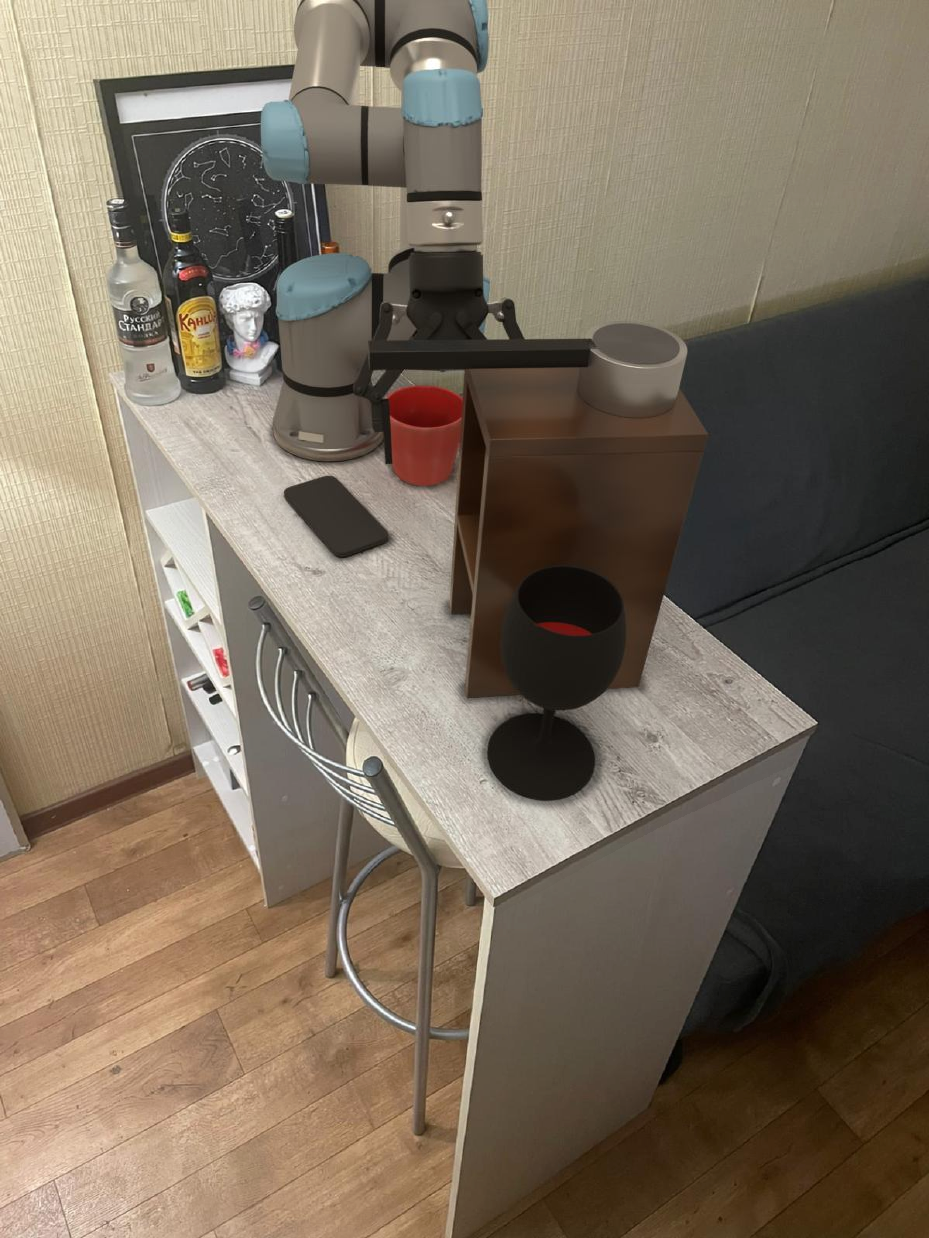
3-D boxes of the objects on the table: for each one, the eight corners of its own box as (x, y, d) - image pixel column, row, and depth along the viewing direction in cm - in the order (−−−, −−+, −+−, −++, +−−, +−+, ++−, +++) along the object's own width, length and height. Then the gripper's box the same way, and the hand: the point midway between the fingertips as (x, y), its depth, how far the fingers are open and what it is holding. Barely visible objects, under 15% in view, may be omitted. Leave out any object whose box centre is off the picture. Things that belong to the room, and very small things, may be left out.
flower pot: (479, 478, 121) (485, 413, 114) (410, 502, 116) (411, 436, 109) (435, 440, 127) (438, 377, 120) (367, 462, 122) (366, 397, 115)
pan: (372, 424, 72) (372, 371, 69) (366, 372, 78) (365, 321, 75) (689, 417, 76) (702, 366, 73) (659, 368, 82) (669, 319, 79)
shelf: (466, 698, 92) (490, 439, 71) (449, 605, 102) (465, 356, 81) (638, 687, 94) (708, 434, 74) (604, 597, 104) (658, 354, 84)
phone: (337, 555, 106) (280, 489, 114) (337, 560, 106) (280, 494, 115) (392, 535, 109) (332, 473, 118) (392, 541, 109) (332, 478, 118)
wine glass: (589, 811, 82) (630, 655, 69) (477, 788, 83) (495, 630, 70) (600, 726, 90) (638, 570, 76) (497, 706, 91) (516, 549, 77)
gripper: (318, 252, 87) (335, 471, 95) (576, 247, 89) (570, 461, 97) (321, 251, 94) (336, 456, 102) (560, 246, 96) (556, 446, 104)
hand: (450, 459), depth 100 cm, fingers open, 13 cm apart
